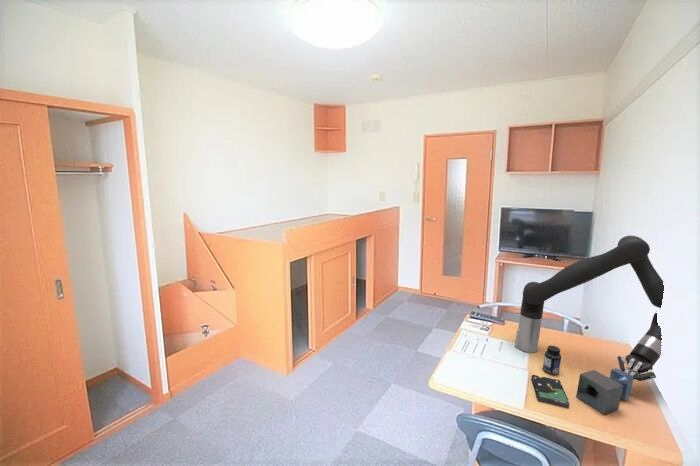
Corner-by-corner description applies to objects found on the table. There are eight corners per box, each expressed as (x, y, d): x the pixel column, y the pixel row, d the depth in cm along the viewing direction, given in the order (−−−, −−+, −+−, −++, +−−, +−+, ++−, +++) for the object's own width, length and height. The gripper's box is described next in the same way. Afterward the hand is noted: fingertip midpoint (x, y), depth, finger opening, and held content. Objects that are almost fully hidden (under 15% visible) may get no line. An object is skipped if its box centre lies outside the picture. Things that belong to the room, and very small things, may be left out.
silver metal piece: (612, 388, 130) (616, 368, 128) (629, 398, 124) (633, 376, 123) (586, 396, 125) (590, 375, 123) (603, 407, 119) (607, 385, 117)
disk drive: (530, 380, 137) (537, 402, 123) (531, 374, 136) (538, 396, 122) (558, 385, 133) (569, 409, 119) (559, 379, 133) (570, 402, 119)
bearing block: (590, 392, 129) (594, 369, 127) (618, 410, 119) (623, 385, 117) (576, 397, 126) (580, 373, 124) (603, 415, 117) (608, 390, 115)
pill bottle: (557, 369, 143) (561, 346, 141) (559, 377, 138) (563, 353, 136) (541, 365, 146) (544, 343, 144) (543, 373, 140) (546, 349, 138)
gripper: (626, 336, 133) (601, 369, 131) (666, 353, 121) (640, 390, 119) (632, 346, 136) (607, 378, 134) (672, 364, 124) (646, 399, 122)
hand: (623, 384), depth 127 cm, fingers closed
